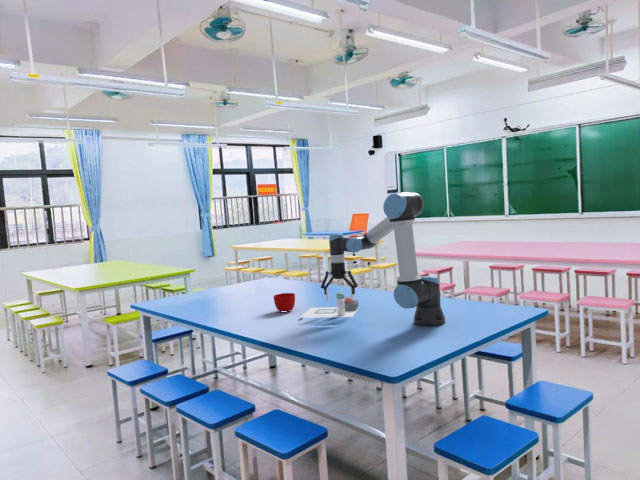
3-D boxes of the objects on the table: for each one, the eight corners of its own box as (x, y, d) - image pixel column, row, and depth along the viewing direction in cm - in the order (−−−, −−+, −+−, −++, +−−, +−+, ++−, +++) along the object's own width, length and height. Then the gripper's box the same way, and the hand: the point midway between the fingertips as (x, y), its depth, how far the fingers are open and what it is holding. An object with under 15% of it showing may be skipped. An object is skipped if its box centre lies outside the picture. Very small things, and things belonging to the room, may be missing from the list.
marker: (344, 315, 251) (343, 293, 250) (337, 315, 252) (335, 294, 251) (346, 313, 255) (344, 292, 254) (338, 313, 256) (337, 292, 255)
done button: (353, 306, 263) (352, 298, 263) (344, 306, 264) (343, 298, 264) (354, 304, 268) (353, 296, 267) (346, 304, 269) (345, 297, 269)
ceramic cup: (298, 307, 288) (297, 291, 287) (294, 313, 271) (293, 296, 270) (278, 308, 289) (276, 292, 288) (272, 314, 272) (271, 297, 271)
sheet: (352, 319, 247) (352, 316, 246) (299, 319, 254) (298, 317, 254) (359, 308, 270) (359, 306, 270) (310, 309, 277) (310, 307, 277)
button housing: (356, 310, 261) (355, 303, 260) (340, 310, 263) (340, 303, 263) (358, 306, 269) (358, 300, 269) (343, 307, 272) (343, 300, 271)
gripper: (361, 260, 252) (363, 298, 253) (317, 261, 258) (319, 299, 259) (359, 262, 244) (361, 301, 246) (313, 263, 250) (316, 302, 252)
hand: (340, 300), depth 253 cm, fingers open, 13 cm apart
